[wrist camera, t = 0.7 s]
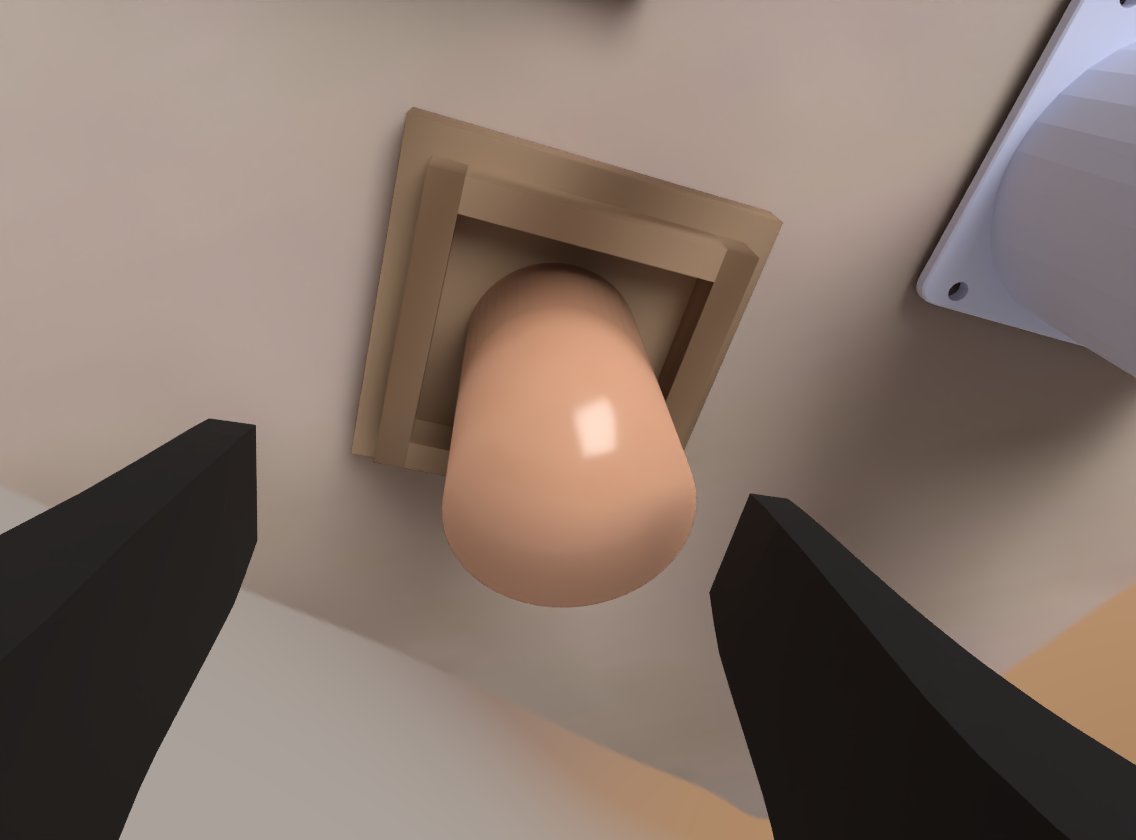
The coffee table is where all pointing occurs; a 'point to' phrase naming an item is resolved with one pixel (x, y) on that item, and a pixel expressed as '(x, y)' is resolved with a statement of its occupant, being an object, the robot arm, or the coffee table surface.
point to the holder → (533, 236)
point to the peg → (562, 445)
